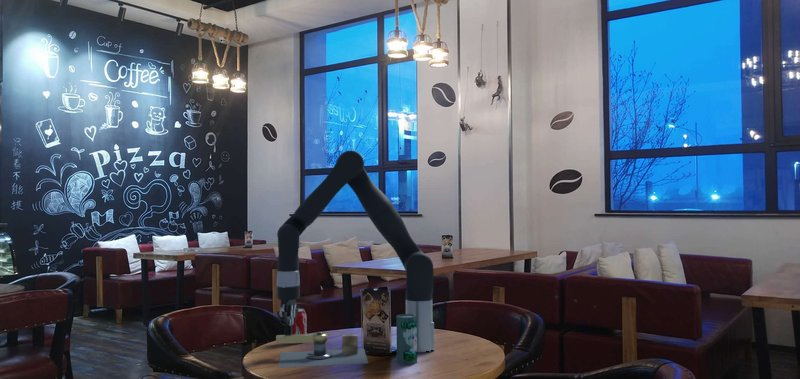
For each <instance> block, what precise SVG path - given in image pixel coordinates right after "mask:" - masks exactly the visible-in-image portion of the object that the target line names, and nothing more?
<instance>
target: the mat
mask: <svg viewBox="0 0 800 379" xmlns="http://www.w3.org/2000/svg"><path fill="white" fill-rule="evenodd" d="M326 351H327V352H331V353H332V357H331V358H329V359H324V360H313V359H309V358H308V354H309V353H311V352H314V350H310V351H309V350H306V351H303V350H302V351H288V352H287V351H286V352H285V351H284V352H283V351H282V352H280V353H279V360H278V364H277V368H278V369H280V368H297V367H298V368H299V367H320V366H323V367H325V366H343V365H362V364H369V361H368V357H367V355H366V353H365V349H364V348H358V354H344V355H343V354H342V349H329V350H327V349H326Z"/></svg>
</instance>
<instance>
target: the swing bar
mask: <svg viewBox="0 0 800 379" xmlns="http://www.w3.org/2000/svg"><path fill="white" fill-rule="evenodd" d="M314 342H315V343H322V342H326V343H327V342H328V333H326V332H322V331H317V332H315V333H307V334H295V335H285V334H277V335H276V336H275V344H278V345H279V344H290V343H291V344H292V343H299V344H303V343H314Z"/></svg>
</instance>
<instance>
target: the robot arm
mask: <svg viewBox="0 0 800 379" xmlns="http://www.w3.org/2000/svg"><path fill="white" fill-rule="evenodd" d="M346 184H347V185H348V186H349V187H350V189H351V190H352V192H354V194H355V195H356V197H357V198H358V201H359V202H360V205H361V206H362V208H363V209H364V211H365V213H366V214H367V216H368V218H369V219H370V221H371V222H372V223H373V225H374V227H375V228H376V230H377V231H378V232H379V234H380V235H381V236H382V237H383V238H384V239H385V241H386V242H387V243H388V244H389V245H390V246H391V247H392V249H393V251H394V252H395V253H396V255H397V257H398V259H399V260H400V262H401V264H402V266H403V268H404V270H405V272H406V286H405V287H406V288H405V314H414V315H416V316H417V353H427V352H426V351H429V352H432V351H431V350H434V351H435V322H434V321H433V319H434V318H433V294H434V262H433V261H432V259H431V257H430V256H428V255H427V254H425V253H424V252H423V251H422V249H420V247H419V246H418V244H417V243H416V241H414V240H413V238H412V237H411V235H410V233H409V231H408V229H407V225H406V224H405V222H404V220H403V219H402V216H401V215H400V214H399V212H398V210H397V208H395V206H394V204H393V203H392V201H391V200H390V199H389V198H388V197H387V196H386V194H385V193H383V191H382V190H381V189H380V188H378V186H377V185H376V184H375V183H374V182H373V181H372V179H371V177H370V176H369V174H368V172H367V170H366V168H365V161H364V157H363V156H362V154H361V153H360V152H358V151H356V150H345V151H344V152H342V153H340V155H339V156H338V157H337V159H336V163H335V164H334V166H333V168H332V169H331V170H330V172H329V173H328V175H327V176H326V177H325V178H324V180H323V181H322V182H320V184H319V185H318V186H317V187H316V188H315V189H314V190H313V191H312V192H311V193H310V194H309V195H308V196H307V197H306V198H305V199H304V201H302V203H301V204H300V205H299V206H298V207H297V208H296V210H295V211H294V212H293V214H291V215H290V216H289V218H287V220H286V221H285V222H284V223H283V224H282V225H281V226H280V227H279V228H278V230H277V233H276V235H277V248H278V250H277V251H278V255H277V256H278V257H277V274H276V299H277V300H280V309H279V310H278V311H277V312H276V315H277V318H278V320H279V322H280V325H281V326H282V325H283V326H284V328H283V329H284V335H292V325H293V323H294V322H295V321H296V317H297V314H298V310H299V308H300V306H299V305H298V304H297V299H298V300H299V299H300V298H301V297H300V296H301V295H300V293H301V288H300V286H301V282H300V280H301V279H300V261H299V260H300V258H299V252H300V251H299V250H300V236H301V235H302V234H303V233H304V231H306V229H307V228H308V227H309V226H311V225H312V224H313V223H314V222H315V221H316V220H317V218H318V217H320V215H321V214H322V213H323V212H324V211H325V209H326V208H327V207H328V206H329V204H330V203H331V202H332V200H333V198H334V197H336V196H337V194H338V193H339V192H340V190H342V189H343V188H344V187H345V186H346Z"/></svg>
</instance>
